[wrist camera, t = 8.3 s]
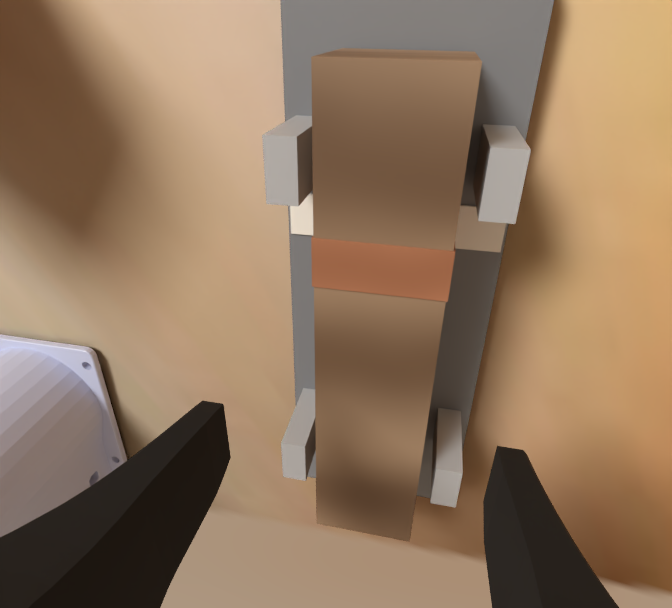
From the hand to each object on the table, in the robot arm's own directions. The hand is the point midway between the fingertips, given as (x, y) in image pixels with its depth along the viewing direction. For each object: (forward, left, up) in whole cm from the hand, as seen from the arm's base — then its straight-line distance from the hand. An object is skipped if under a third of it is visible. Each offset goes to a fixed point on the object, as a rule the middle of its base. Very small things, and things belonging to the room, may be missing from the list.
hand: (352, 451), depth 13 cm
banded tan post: (0, 0, -8) cm, 8 cm away
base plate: (0, 0, -9) cm, 9 cm away
